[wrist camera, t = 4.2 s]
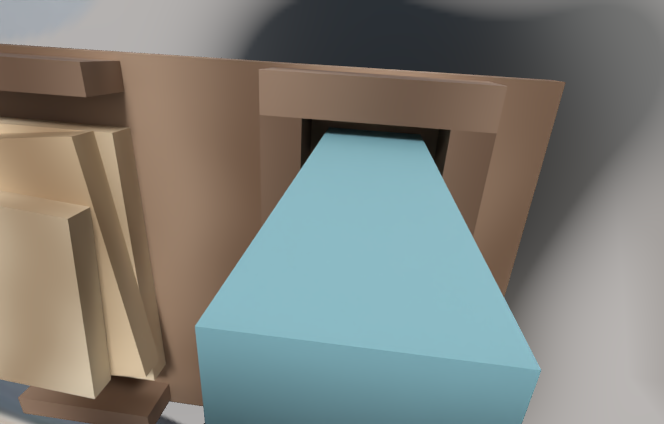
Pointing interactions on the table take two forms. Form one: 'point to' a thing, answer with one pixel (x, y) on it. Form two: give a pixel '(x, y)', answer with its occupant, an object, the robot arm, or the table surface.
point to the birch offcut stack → (73, 259)
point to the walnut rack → (265, 168)
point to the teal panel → (364, 303)
